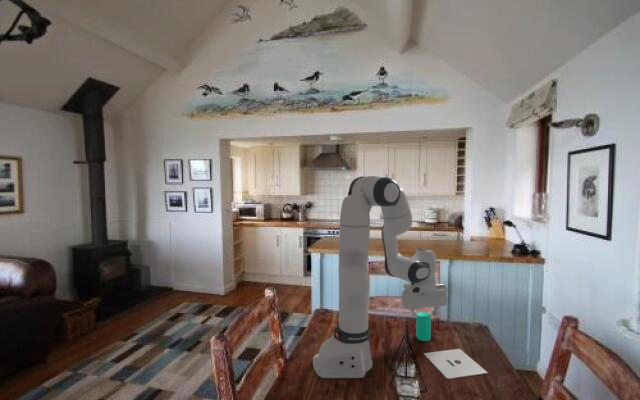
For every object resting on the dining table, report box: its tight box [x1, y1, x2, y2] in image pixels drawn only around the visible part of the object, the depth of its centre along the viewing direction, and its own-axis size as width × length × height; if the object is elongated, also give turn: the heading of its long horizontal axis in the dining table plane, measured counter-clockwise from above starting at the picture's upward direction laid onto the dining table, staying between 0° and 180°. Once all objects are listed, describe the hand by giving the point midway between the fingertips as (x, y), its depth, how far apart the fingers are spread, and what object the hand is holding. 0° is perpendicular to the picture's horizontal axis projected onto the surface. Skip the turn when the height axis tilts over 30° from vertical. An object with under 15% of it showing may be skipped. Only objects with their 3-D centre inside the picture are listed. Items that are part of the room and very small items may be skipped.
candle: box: [415, 311, 432, 342], centre depth 137 cm, size 6×6×12 cm
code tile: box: [423, 348, 489, 380], centre depth 119 cm, size 16×16×1 cm
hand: (424, 316), depth 138 cm, fingers open, 8 cm apart
